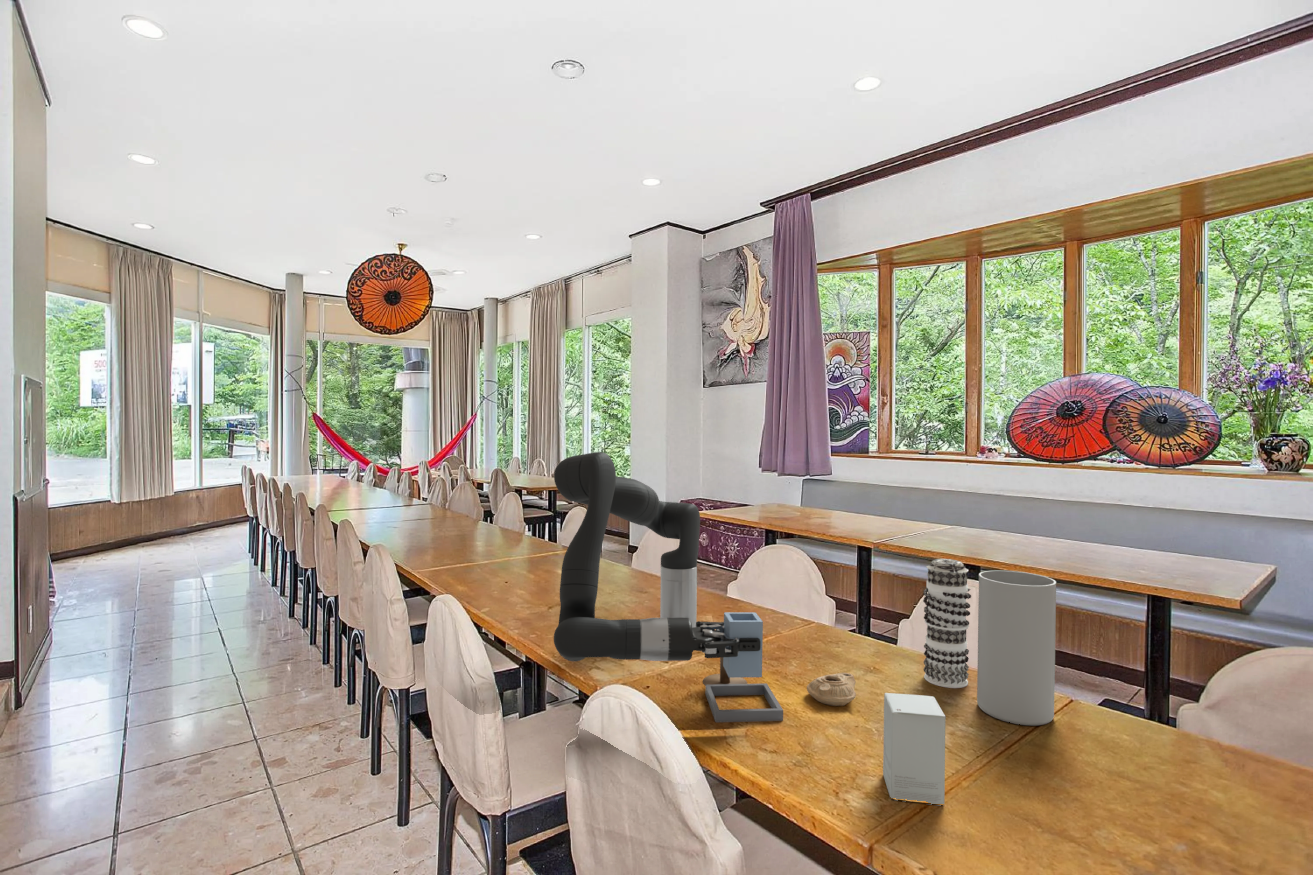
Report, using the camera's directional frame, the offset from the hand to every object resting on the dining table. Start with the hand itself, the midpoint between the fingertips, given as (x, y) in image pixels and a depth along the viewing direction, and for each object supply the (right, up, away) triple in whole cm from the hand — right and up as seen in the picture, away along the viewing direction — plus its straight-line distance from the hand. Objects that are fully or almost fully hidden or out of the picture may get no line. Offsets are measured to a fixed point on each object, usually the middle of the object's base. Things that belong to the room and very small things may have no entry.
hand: (755, 638), depth 119 cm
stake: (-4, -13, +12) cm, 18 cm away
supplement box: (+19, -14, -25) cm, 35 cm away
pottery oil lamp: (+17, -14, +5) cm, 22 cm away
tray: (-2, -14, 0) cm, 14 cm away
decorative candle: (+42, -14, +16) cm, 47 cm away
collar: (-3, -6, 0) cm, 6 cm away
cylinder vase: (+48, -14, +1) cm, 50 cm away
